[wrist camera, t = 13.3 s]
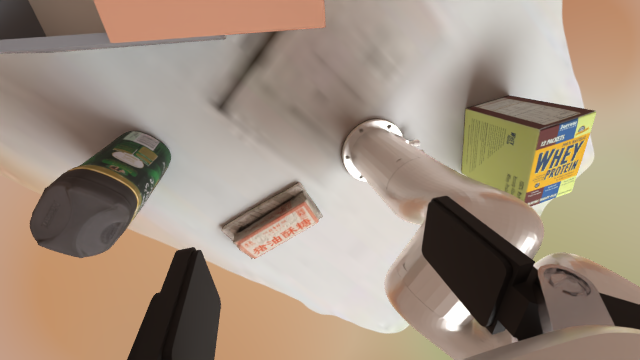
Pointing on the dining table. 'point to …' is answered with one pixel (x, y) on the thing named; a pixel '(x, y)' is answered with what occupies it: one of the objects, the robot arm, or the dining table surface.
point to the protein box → (525, 146)
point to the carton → (60, 27)
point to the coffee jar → (99, 196)
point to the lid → (204, 17)
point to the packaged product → (273, 222)
